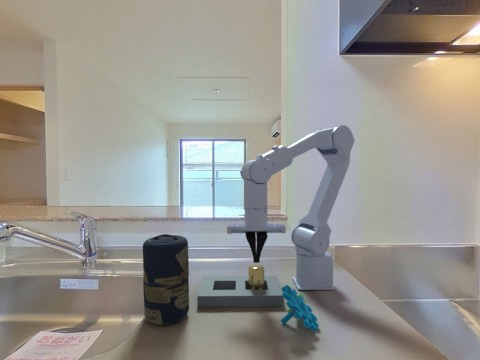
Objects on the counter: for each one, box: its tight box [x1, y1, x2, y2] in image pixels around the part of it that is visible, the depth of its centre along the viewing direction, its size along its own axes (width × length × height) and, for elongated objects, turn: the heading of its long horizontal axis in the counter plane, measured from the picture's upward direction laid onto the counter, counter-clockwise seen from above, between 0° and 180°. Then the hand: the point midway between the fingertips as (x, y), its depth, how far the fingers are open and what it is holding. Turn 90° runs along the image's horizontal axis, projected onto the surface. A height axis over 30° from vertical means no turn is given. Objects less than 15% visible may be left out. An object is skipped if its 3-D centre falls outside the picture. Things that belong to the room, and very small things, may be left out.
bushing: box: [247, 264, 265, 290], centre depth 71 cm, size 4×4×7 cm
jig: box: [196, 275, 285, 308], centre depth 71 cm, size 20×12×2 cm, turn 90°
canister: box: [142, 233, 190, 326], centre depth 60 cm, size 10×10×18 cm
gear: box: [280, 284, 320, 332], centre depth 58 cm, size 11×6×10 cm
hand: (256, 261), depth 71 cm, fingers closed
